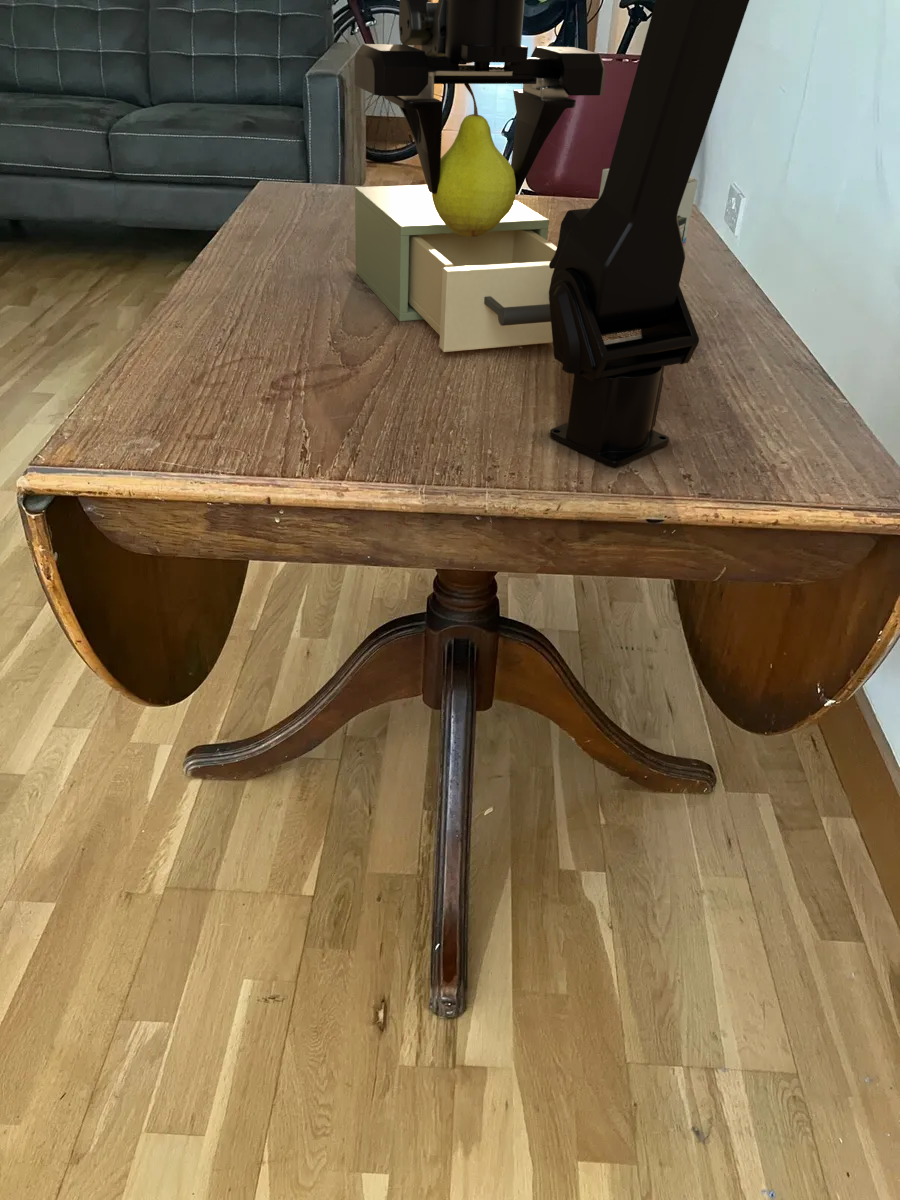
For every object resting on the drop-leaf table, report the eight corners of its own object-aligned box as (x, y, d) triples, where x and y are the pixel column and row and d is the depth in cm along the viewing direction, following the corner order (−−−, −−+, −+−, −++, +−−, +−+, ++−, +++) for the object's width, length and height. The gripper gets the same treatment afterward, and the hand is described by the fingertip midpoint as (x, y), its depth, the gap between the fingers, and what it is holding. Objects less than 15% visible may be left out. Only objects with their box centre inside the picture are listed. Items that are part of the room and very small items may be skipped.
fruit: (512, 226, 81) (525, 69, 74) (511, 248, 76) (526, 79, 69) (432, 221, 82) (438, 63, 75) (426, 242, 76) (432, 73, 69)
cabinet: (540, 310, 93) (549, 219, 88) (399, 321, 89) (400, 226, 84) (482, 265, 105) (487, 182, 100) (355, 272, 100) (354, 186, 95)
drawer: (609, 359, 81) (621, 279, 77) (463, 374, 76) (468, 290, 73) (519, 290, 95) (526, 219, 91) (393, 298, 91) (394, 225, 87)
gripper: (554, -40, 77) (535, 167, 86) (332, -50, 71) (337, 173, 80) (622, -33, 68) (593, 195, 77) (376, -44, 62) (376, 204, 71)
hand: (474, 191), depth 77 cm, fingers closed on fruit, 7 cm apart
